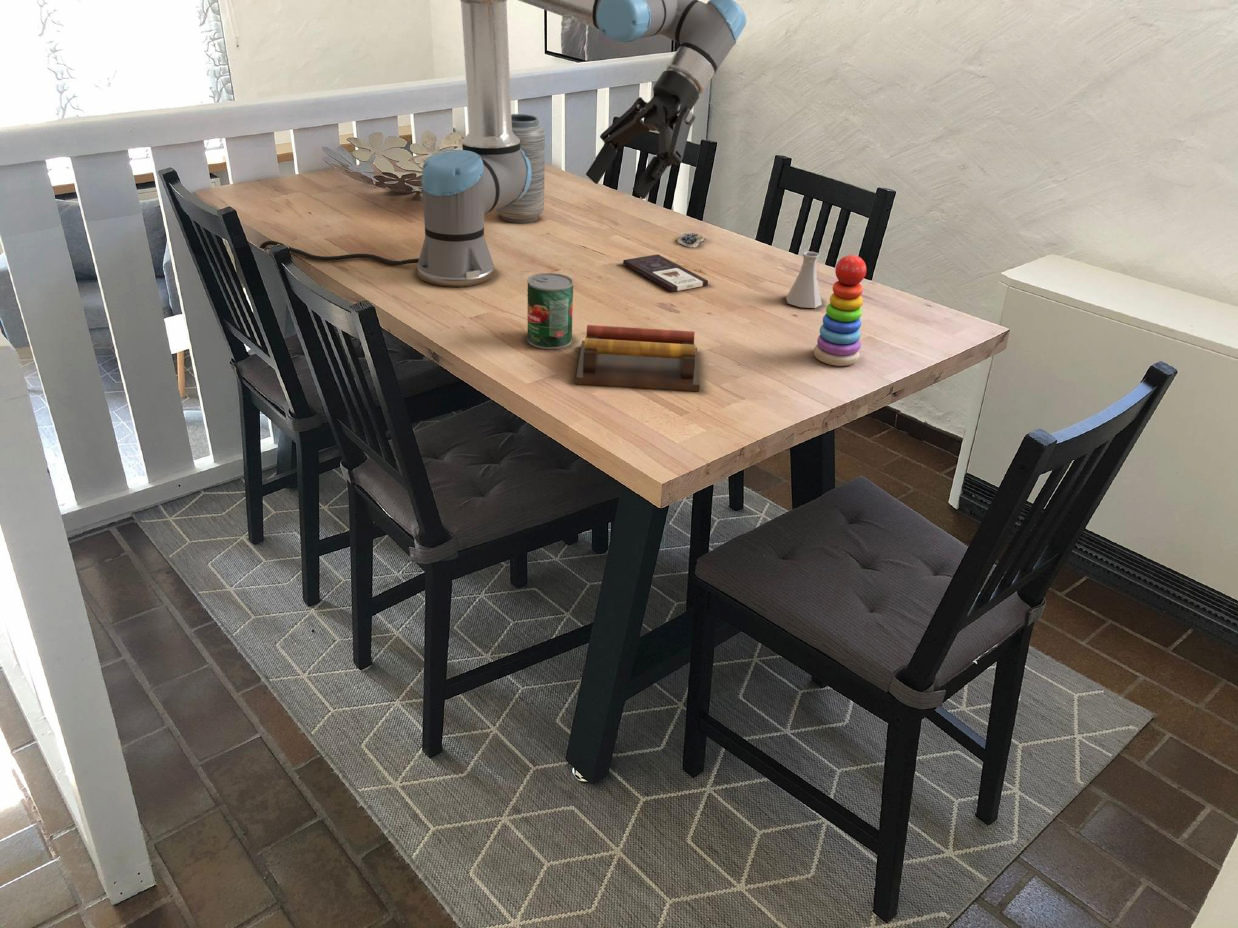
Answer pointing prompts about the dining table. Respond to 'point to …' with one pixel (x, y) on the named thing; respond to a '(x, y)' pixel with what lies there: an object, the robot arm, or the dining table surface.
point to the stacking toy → (843, 315)
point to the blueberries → (690, 239)
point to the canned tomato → (550, 310)
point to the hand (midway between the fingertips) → (614, 186)
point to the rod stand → (639, 358)
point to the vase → (535, 152)
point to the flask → (806, 284)
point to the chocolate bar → (665, 272)
